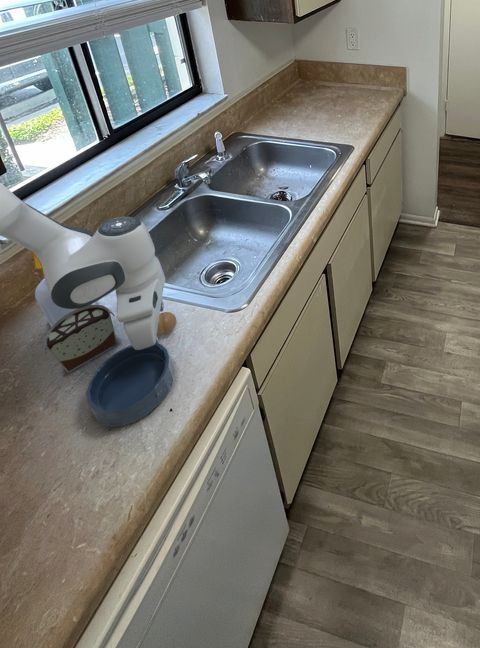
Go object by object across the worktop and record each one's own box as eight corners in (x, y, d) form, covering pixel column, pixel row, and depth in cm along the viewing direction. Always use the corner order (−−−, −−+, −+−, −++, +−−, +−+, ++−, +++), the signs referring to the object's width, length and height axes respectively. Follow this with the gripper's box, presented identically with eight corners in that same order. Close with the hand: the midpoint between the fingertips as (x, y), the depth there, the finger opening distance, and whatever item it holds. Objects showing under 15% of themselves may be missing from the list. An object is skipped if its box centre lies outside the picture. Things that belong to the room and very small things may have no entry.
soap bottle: (53, 338, 99) (8, 257, 89) (49, 313, 105) (7, 234, 95) (99, 315, 104) (62, 236, 94) (92, 293, 111) (57, 216, 100)
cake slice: (117, 323, 103) (104, 292, 98) (125, 340, 99) (111, 309, 94) (54, 358, 95) (36, 327, 90) (59, 378, 91) (41, 346, 87)
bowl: (86, 440, 80) (77, 425, 78) (103, 370, 92) (96, 355, 90) (171, 410, 85) (165, 395, 83) (177, 347, 97) (171, 332, 94)
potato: (140, 346, 97) (134, 332, 95) (143, 328, 101) (137, 315, 99) (177, 334, 100) (172, 321, 98) (179, 318, 103) (174, 305, 101)
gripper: (132, 253, 101) (148, 295, 107) (114, 325, 84) (135, 370, 90) (162, 245, 103) (176, 287, 109) (151, 314, 86) (168, 360, 92)
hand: (157, 326), depth 100 cm, fingers open, 8 cm apart
